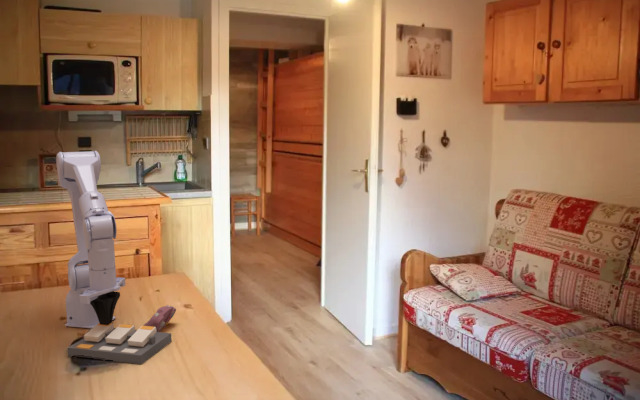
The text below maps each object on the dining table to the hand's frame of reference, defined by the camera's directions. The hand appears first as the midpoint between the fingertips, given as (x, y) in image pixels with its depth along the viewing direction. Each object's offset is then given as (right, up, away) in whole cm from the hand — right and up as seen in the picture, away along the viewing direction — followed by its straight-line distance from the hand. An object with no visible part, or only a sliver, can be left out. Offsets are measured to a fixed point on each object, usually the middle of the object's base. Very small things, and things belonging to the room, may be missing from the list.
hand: (105, 324), depth 132 cm
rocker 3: (+10, -1, -5) cm, 11 cm away
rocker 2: (+5, -1, -4) cm, 6 cm away
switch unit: (+5, -5, -3) cm, 7 cm away
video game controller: (+10, -3, +9) cm, 14 cm away
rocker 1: (-1, -1, -2) cm, 3 cm away
